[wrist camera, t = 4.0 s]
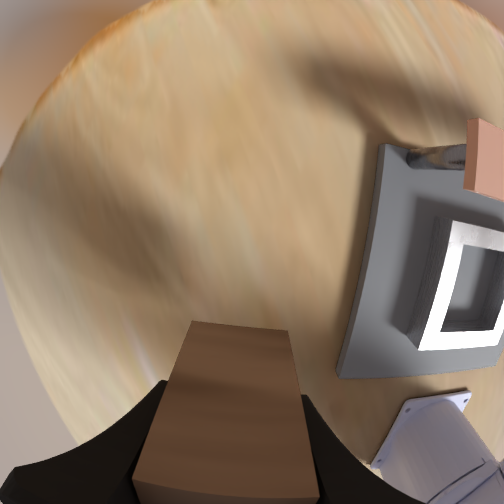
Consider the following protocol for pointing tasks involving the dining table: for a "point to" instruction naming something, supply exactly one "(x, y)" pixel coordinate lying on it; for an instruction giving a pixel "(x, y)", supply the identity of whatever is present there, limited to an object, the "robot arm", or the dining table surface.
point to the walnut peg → (229, 424)
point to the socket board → (431, 262)
